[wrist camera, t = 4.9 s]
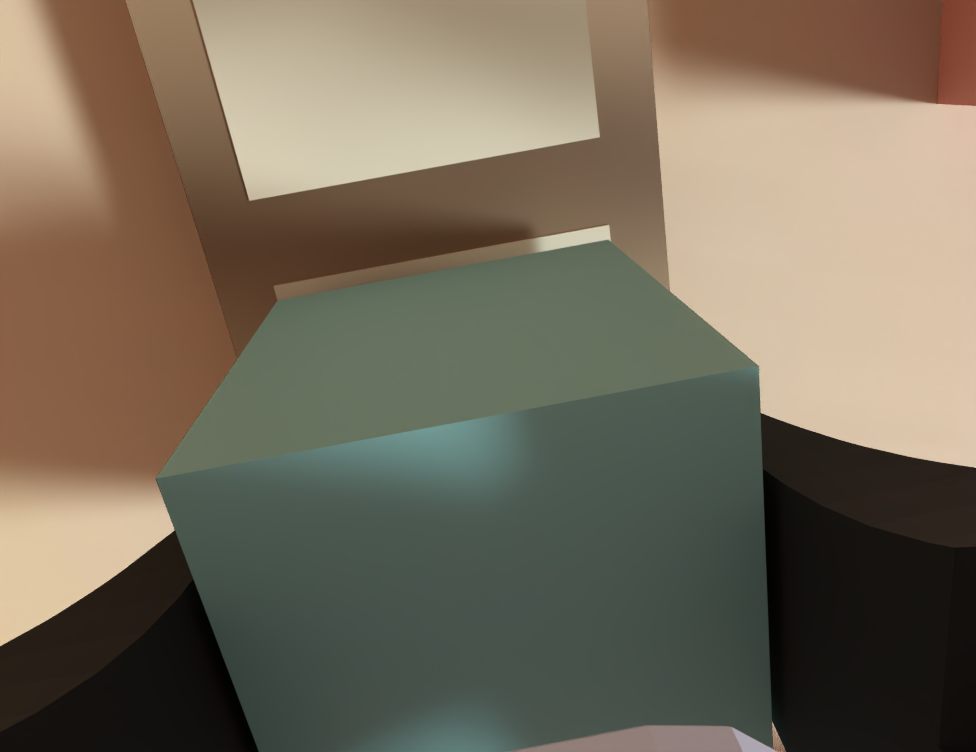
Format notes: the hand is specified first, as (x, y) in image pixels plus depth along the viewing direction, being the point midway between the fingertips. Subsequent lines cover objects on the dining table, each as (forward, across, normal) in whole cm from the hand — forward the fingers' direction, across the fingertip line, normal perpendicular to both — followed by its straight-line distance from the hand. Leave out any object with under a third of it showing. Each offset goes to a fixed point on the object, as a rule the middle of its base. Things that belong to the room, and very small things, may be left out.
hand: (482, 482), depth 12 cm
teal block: (+2, 0, 0) cm, 2 cm away
